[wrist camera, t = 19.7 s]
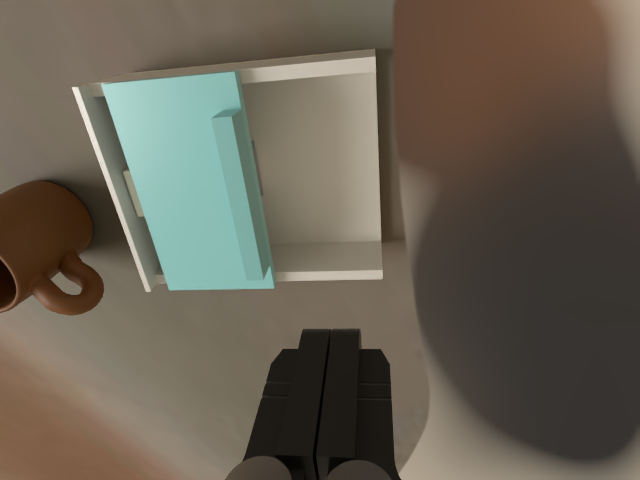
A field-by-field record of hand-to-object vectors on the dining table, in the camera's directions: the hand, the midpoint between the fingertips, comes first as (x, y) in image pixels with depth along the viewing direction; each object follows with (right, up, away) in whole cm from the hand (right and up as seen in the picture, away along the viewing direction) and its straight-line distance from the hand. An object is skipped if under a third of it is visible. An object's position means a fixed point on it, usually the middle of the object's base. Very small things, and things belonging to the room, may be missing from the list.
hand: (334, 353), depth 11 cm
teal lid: (-9, +6, +18) cm, 21 cm away
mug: (-22, +4, +27) cm, 36 cm away
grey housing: (-5, +9, +22) cm, 24 cm away
